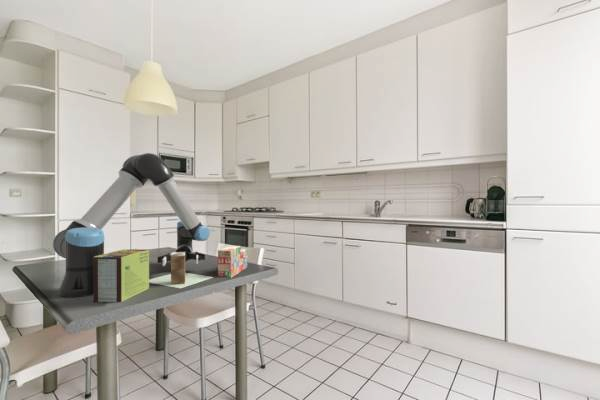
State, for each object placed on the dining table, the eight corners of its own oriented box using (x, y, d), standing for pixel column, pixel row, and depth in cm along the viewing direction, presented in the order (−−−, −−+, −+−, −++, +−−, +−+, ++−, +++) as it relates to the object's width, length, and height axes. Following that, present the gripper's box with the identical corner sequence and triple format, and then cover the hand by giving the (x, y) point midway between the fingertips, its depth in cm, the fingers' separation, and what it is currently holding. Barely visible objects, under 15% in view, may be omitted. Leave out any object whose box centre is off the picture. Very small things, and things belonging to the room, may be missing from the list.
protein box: (149, 289, 112) (149, 249, 112) (121, 303, 97) (121, 256, 97) (124, 289, 113) (124, 248, 113) (92, 302, 98) (92, 256, 98)
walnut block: (171, 284, 116) (170, 254, 116) (172, 281, 121) (172, 252, 121) (184, 283, 118) (184, 253, 118) (185, 280, 122) (185, 251, 122)
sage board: (142, 282, 122) (142, 281, 122) (178, 273, 138) (178, 271, 138) (180, 289, 112) (180, 288, 112) (214, 278, 128) (214, 277, 128)
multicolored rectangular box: (236, 266, 151) (236, 242, 151) (247, 267, 150) (247, 243, 150) (217, 277, 130) (217, 249, 130) (230, 278, 129) (230, 250, 129)
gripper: (209, 259, 152) (210, 268, 131) (156, 262, 144) (148, 272, 124) (209, 244, 152) (210, 251, 131) (156, 247, 144) (148, 254, 124)
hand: (180, 261), depth 127 cm, fingers open, 13 cm apart
